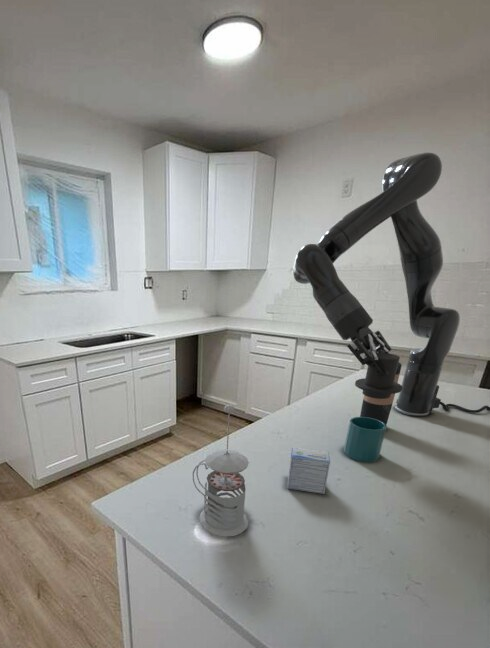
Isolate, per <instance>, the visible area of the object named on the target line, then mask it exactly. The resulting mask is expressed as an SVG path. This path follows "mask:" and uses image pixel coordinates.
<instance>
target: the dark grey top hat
mask: <svg viewBox="0 0 490 648" xmlns="http://www.w3.org/2000/svg"><path fill="white" fill-rule="evenodd" d="M376 355H377V357H378V360H380V362H381V363H382V364H383V366H384V367H385V368H386V370H387V371H388V374H387V375H385V376H383V377H381V378H378V377H377V375H376V374H375V373H374V371H373V370H372V369H371V367H370V365H369V366H368V365H367V369H366V372H365V373H366V374H365V377H363V378H358V379H356V380H355V382H354V386H355V387H356V388H358V389H360V390H362V392H361V393H362V395H363V396H364V395H365V396H368V397H371V398H376V399H387V398H389V397H390V396H391V394H394V393H395V394H399V393H400V392H401V391H402V388H403V387H402V386H401V385H402V384H400V383H399V382H398V383H396V382H394V379H395V375H396V371H397V367H398V363H400V358H401V357H400V356H399V355H397V354H393V353H390V354H388V353H376ZM378 360H377V361H378Z"/></svg>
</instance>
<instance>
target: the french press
mask: <svg viewBox="0 0 490 648" xmlns="http://www.w3.org/2000/svg"><path fill="white" fill-rule="evenodd" d="M223 412H225V413H227V414H228V416H227V436H226V437H227V438H226V449H217V450H214V451H212V452H210V453H208V454H207V455H206V456H205V458H204V459H203V460H201V461H200V462H199V463H198V464H197V465H195V467H194V468H193V470H192V482H193V485H194V487H195V489H196V490H197V491H198V492H199V493H200V494H201V495H202V496H203V497H204V501H203V502H204V503H203V504H204V506H203V507H204V508H203V510H202V511H201V512H200V515H199V524H200V525H201V527H202V528H203V529H204V530H205V531H206V532H209V533H210V534H211V535H216V536H219V537H223V538H224V537H225V538H226V537H235V536H237V535H241V534H243V532H244V531H246V529H248V525H249V519H248V516H247V515H246V514H245V503H246V489H247V488H246V484H245V482H246V480H245V477H244V476H243V474H241V473H242V472H243V471H245V470H246V469H247V468H248V467H249V463H250V461H249V459H248V457H246V456H245V455H244V454H242V453H241V452H238V451H237V450H233V449H229V438H230V436H229V435H230V416H231V414H232V413H235V406H234V405H233V404H230V403H228V404H226V405H224V406H223ZM204 462H205V463H204ZM202 465H204V467H205V470H208V469H209V468H210V470H212V471H211V472H210V473H208V474H207V477H206V482H205V484H204V485H203V484H202V483H201V481H200V478H199V467H200V466H202ZM195 471H196V479H197V481H198V484H199V485H200V486H201V488H202V489H204V493H203V492H202V491H201V490H200V489H199V488H198V487H197V485H196V482H195ZM221 491H222V492H221ZM219 492H220V493H219ZM231 492H232V493H231ZM222 496H224V497H222ZM227 496H229V497H227Z"/></svg>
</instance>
